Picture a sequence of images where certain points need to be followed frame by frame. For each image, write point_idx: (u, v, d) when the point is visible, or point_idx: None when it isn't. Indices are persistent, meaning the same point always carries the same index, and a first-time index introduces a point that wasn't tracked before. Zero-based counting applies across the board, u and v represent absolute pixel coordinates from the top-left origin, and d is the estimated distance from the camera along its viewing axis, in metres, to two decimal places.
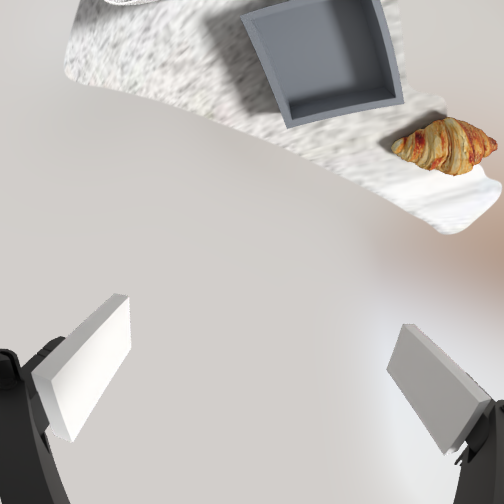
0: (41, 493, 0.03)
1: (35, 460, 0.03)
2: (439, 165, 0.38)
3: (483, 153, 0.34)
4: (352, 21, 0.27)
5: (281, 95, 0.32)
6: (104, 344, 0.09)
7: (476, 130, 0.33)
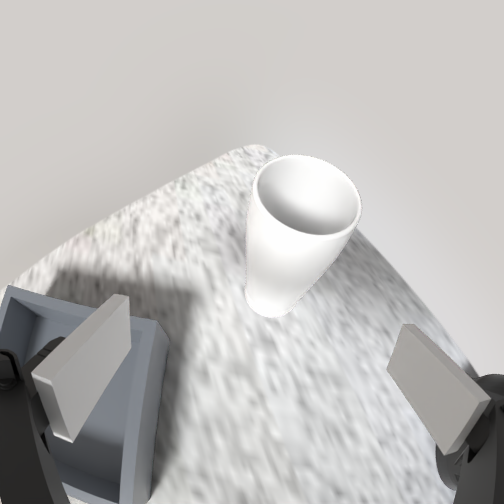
0: (41, 493, 0.03)
1: (35, 460, 0.03)
2: None
3: None
4: (100, 459, 0.18)
5: (37, 302, 0.20)
6: (104, 344, 0.09)
7: None
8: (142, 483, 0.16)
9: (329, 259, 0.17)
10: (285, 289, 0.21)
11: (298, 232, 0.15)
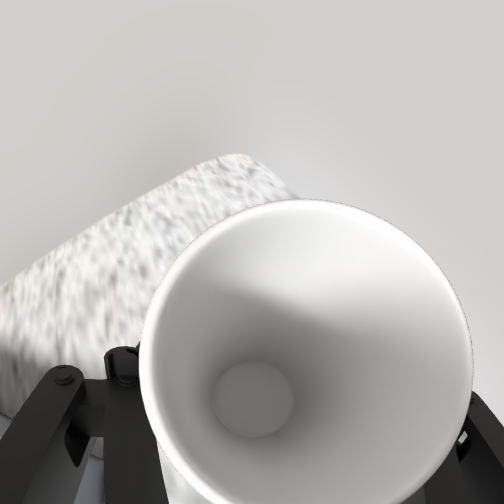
0: (156, 491, 0.04)
1: (154, 459, 0.05)
2: None
3: None
4: None
5: None
6: None
7: None
8: None
9: None
10: None
11: None
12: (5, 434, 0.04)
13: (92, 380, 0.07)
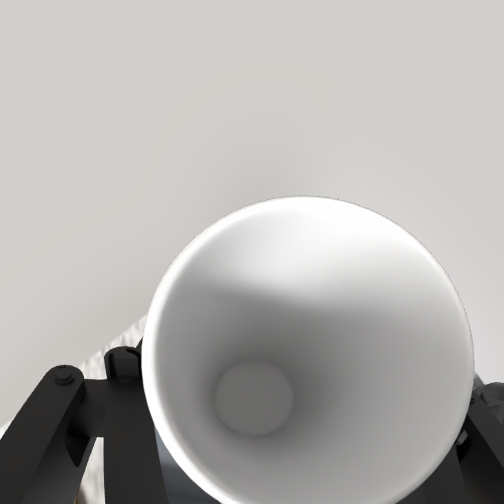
0: (156, 492, 0.04)
1: (154, 459, 0.05)
2: None
3: None
4: None
5: None
6: None
7: None
8: None
9: None
10: None
11: None
12: (5, 434, 0.04)
13: (92, 380, 0.07)
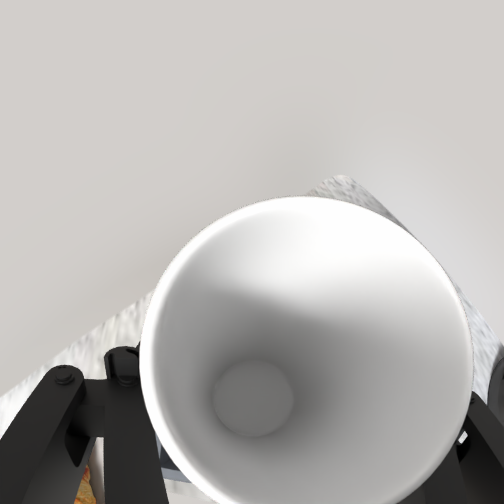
0: (156, 491, 0.04)
1: (154, 459, 0.05)
2: None
3: None
4: None
5: None
6: None
7: None
8: None
9: None
10: None
11: None
12: (5, 434, 0.04)
13: (92, 380, 0.07)
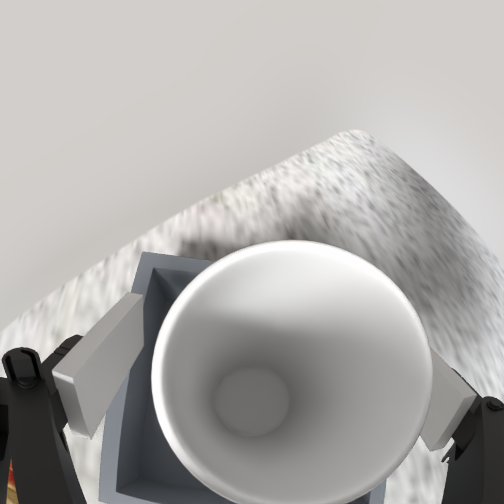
0: (60, 492, 0.03)
1: (54, 459, 0.04)
2: None
3: None
4: None
5: None
6: (120, 342, 0.10)
7: None
8: None
9: None
10: None
11: None
12: None
13: (4, 378, 0.06)
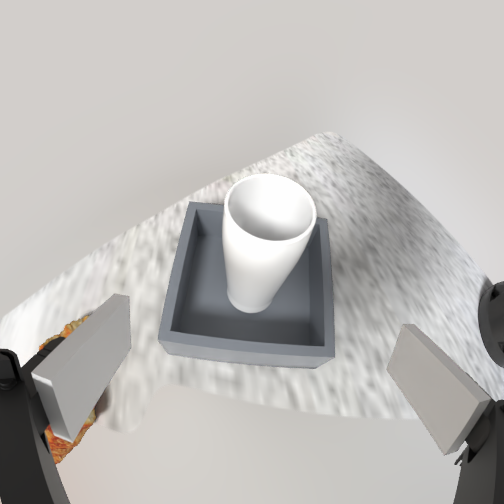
0: (41, 493, 0.03)
1: (35, 460, 0.03)
2: None
3: None
4: (276, 337, 0.31)
5: None
6: (104, 344, 0.09)
7: (61, 452, 0.19)
8: None
9: (290, 260, 0.21)
10: (257, 287, 0.24)
11: (259, 239, 0.19)
12: None
13: None
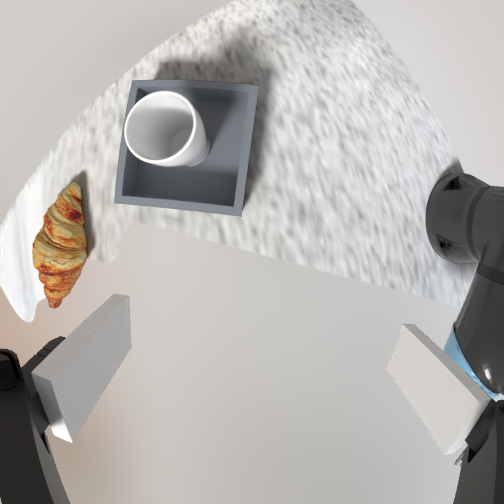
0: (41, 493, 0.03)
1: (35, 460, 0.03)
2: (45, 228, 0.36)
3: (47, 287, 0.38)
4: (209, 186, 0.38)
5: (164, 85, 0.30)
6: (104, 344, 0.09)
7: (69, 286, 0.39)
8: None
9: (181, 161, 0.25)
10: None
11: (146, 160, 0.23)
12: None
13: None
